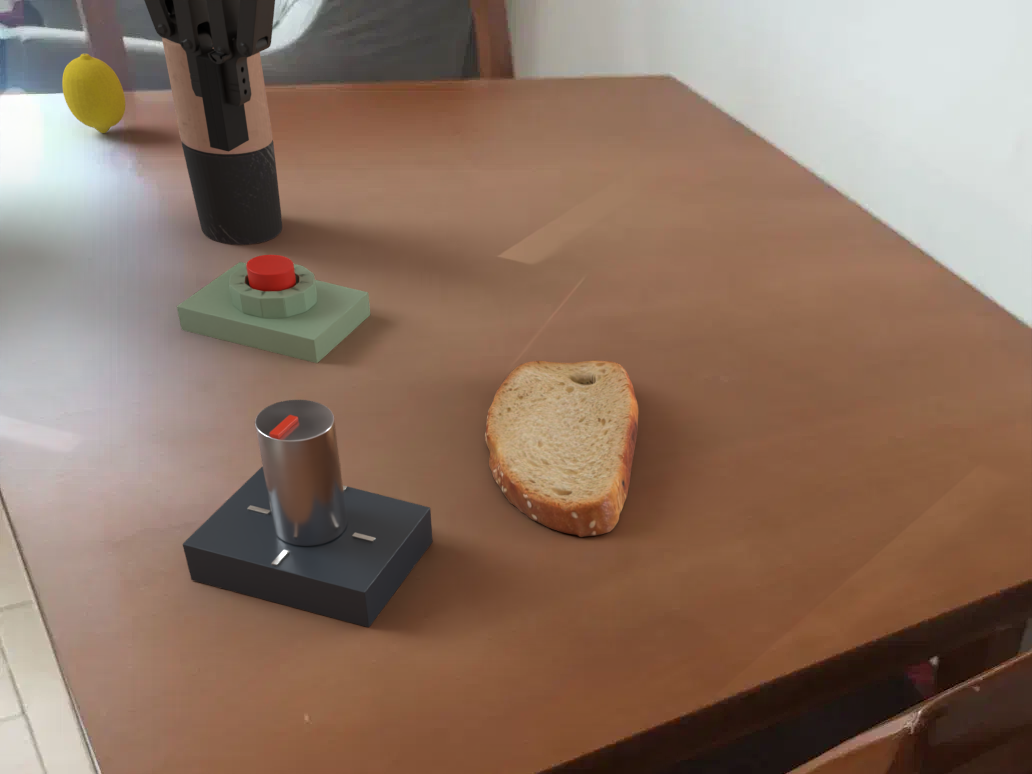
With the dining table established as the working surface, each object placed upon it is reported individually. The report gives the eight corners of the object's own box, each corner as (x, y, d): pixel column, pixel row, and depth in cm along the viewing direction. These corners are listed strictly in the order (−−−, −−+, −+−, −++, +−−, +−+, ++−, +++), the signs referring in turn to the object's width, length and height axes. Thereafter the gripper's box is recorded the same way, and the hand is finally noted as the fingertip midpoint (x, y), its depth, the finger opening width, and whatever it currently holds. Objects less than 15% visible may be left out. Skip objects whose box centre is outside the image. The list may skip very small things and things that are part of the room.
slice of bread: (580, 552, 77) (582, 510, 75) (405, 441, 84) (402, 399, 82) (736, 451, 89) (742, 411, 87) (572, 361, 96) (573, 322, 94)
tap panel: (191, 580, 70) (181, 541, 68) (270, 499, 77) (263, 462, 75) (369, 628, 69) (364, 590, 67) (433, 541, 76) (430, 505, 74)
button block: (181, 330, 92) (171, 285, 89) (243, 284, 99) (236, 241, 96) (317, 363, 91) (311, 319, 88) (370, 315, 98) (366, 272, 95)
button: (240, 288, 91) (236, 268, 90) (264, 270, 94) (261, 250, 93) (281, 297, 91) (278, 278, 90) (304, 279, 94) (302, 260, 93)
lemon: (61, 133, 117) (40, 53, 112) (104, 119, 121) (86, 41, 116) (102, 147, 116) (83, 67, 111) (144, 132, 120) (127, 54, 115)
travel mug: (225, 205, 110) (186, -17, 97) (300, 220, 109) (270, 0, 96) (181, 236, 104) (134, 5, 91) (260, 252, 103) (223, 22, 91)
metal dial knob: (298, 496, 73) (281, 388, 68) (360, 513, 73) (347, 405, 68) (259, 535, 70) (238, 425, 65) (324, 553, 69) (308, 443, 64)
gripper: (33, -252, 67) (118, 140, 82) (235, -208, 66) (283, 180, 81) (115, -258, 73) (180, 109, 88) (302, -218, 72) (335, 146, 87)
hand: (229, 143), depth 85 cm, fingers closed
